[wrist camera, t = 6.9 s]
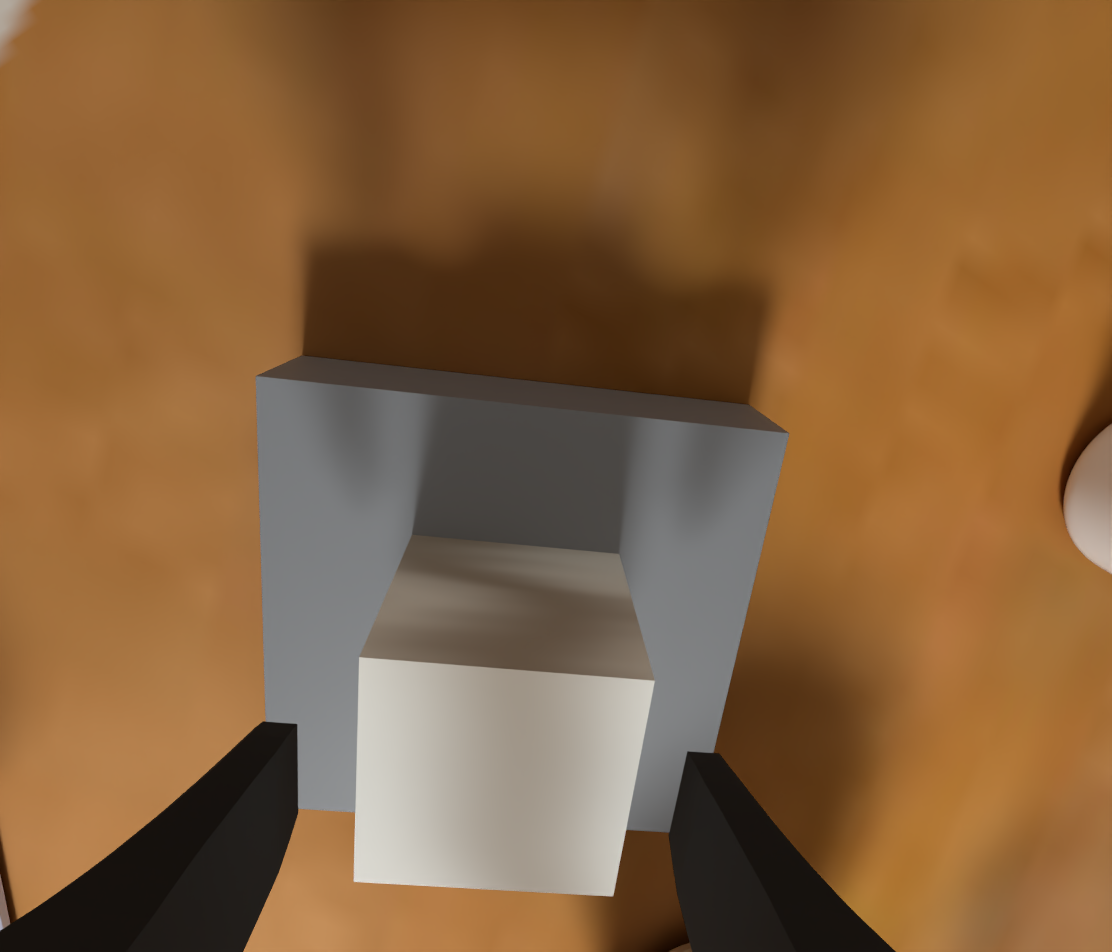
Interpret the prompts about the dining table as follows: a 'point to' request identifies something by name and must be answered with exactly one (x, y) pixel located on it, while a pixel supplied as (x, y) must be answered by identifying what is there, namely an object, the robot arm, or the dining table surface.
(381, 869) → the cube
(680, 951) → the stone cup
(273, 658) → the base
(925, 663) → the dining table surface
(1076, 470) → the drinking glass
